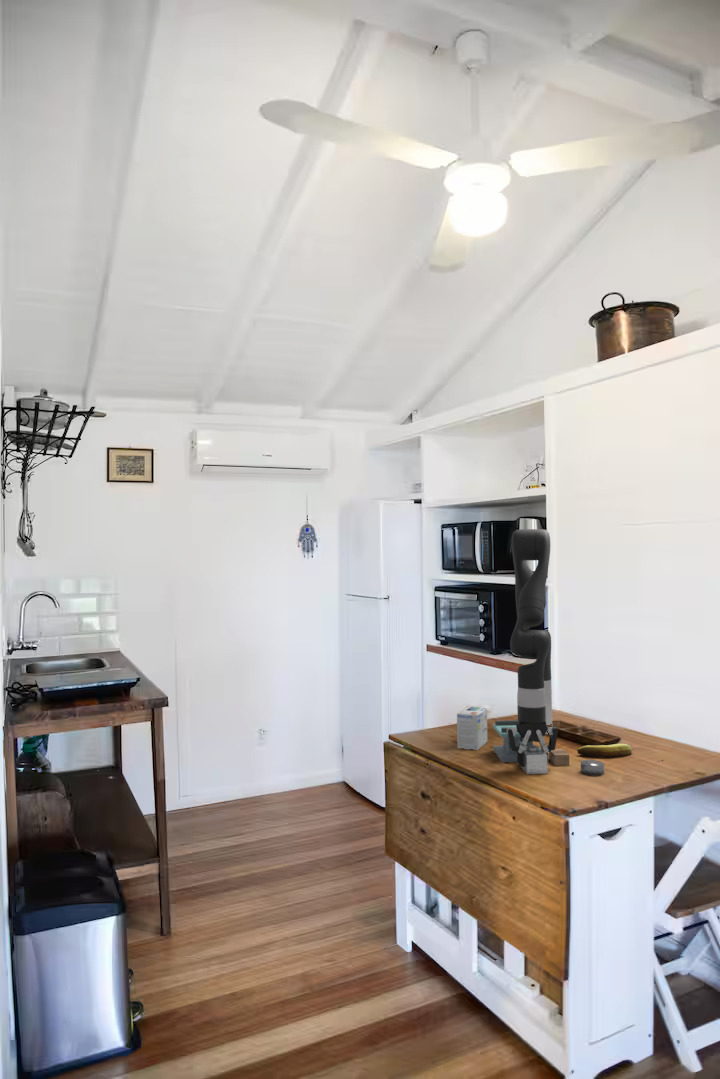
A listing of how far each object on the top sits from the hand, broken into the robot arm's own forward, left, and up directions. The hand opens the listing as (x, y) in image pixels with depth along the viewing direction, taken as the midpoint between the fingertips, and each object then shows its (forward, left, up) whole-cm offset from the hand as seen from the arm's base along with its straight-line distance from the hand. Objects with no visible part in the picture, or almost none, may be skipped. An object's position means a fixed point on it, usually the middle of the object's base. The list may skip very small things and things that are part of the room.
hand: (532, 765), depth 200 cm
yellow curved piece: (-13, +25, -2) cm, 28 cm away
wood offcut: (-6, +9, -1) cm, 11 cm away
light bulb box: (-26, -12, -1) cm, 29 cm away
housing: (0, 0, -1) cm, 1 cm away
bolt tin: (+4, +15, -1) cm, 16 cm away
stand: (-13, -1, -1) cm, 13 cm away
